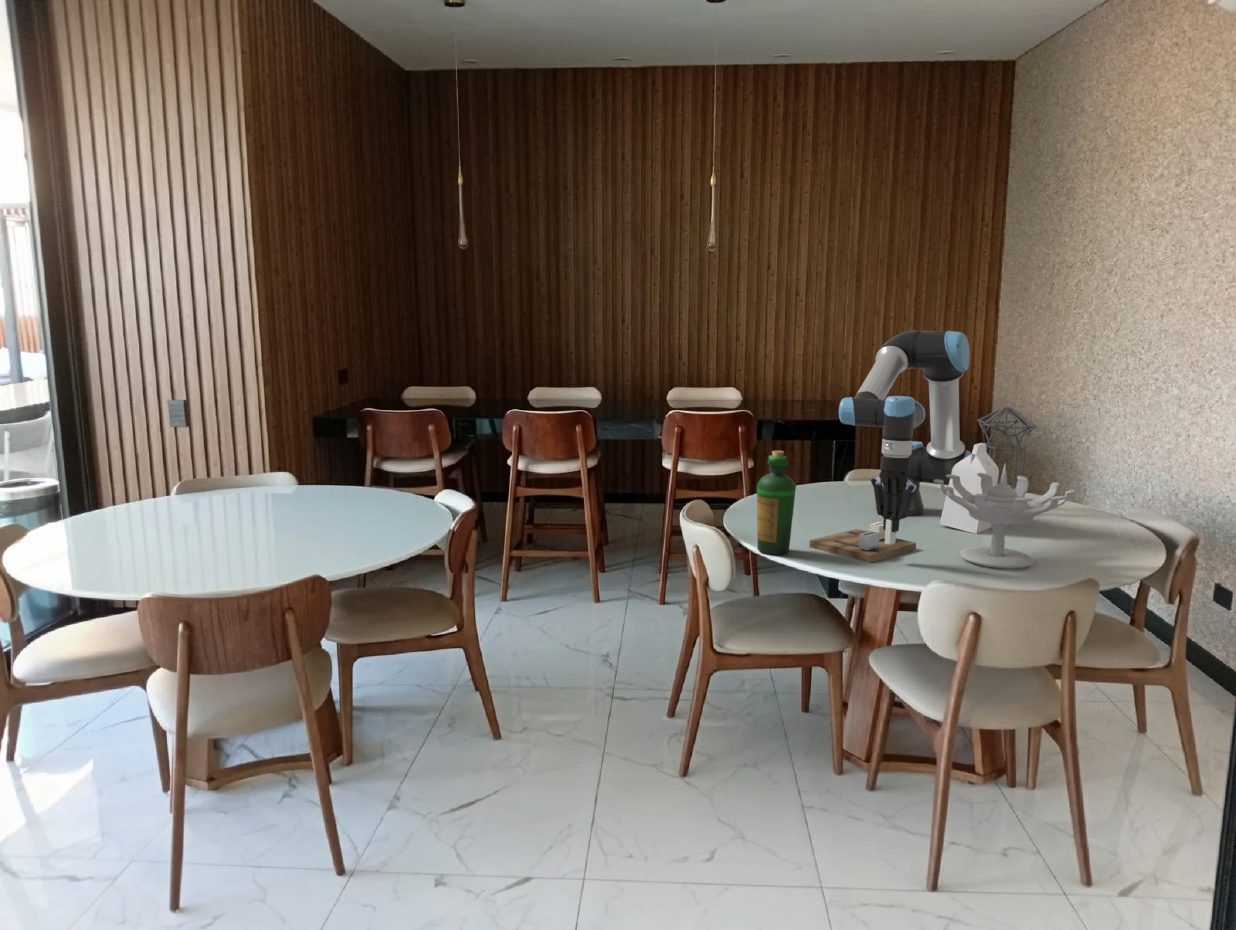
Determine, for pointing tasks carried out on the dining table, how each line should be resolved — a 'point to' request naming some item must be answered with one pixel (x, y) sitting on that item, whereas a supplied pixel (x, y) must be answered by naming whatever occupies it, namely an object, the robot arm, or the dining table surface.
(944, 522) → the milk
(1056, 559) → the dining table surface
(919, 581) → the dining table surface
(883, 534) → the fader
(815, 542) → the wooden board
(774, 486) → the bottle
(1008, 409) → the geometric lantern
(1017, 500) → the candelabra
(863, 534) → the fader
